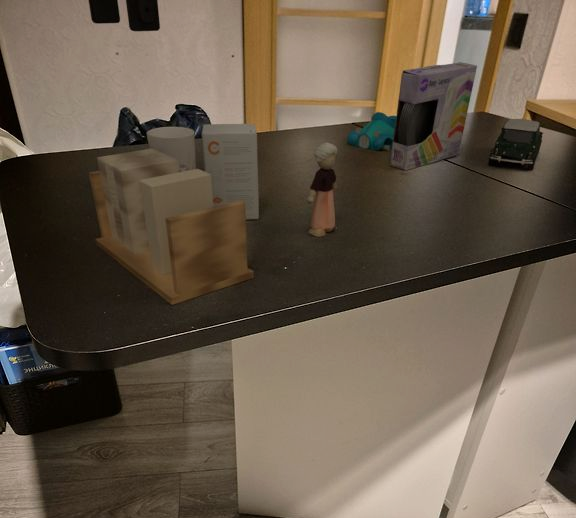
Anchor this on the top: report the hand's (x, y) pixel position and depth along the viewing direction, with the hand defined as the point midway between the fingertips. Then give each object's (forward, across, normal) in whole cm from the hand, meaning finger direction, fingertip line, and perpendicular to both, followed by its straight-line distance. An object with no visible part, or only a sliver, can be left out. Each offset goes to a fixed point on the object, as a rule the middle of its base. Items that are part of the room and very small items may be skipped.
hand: (124, 26), depth 59 cm
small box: (+27, -7, +18) cm, 33 cm away
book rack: (+26, +3, +1) cm, 27 cm away
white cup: (+27, -22, +16) cm, 38 cm away
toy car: (+26, -27, +74) cm, 83 cm away
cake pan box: (+26, -10, +68) cm, 73 cm away
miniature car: (+26, +1, +85) cm, 89 cm away
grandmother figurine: (+26, +7, +25) cm, 37 cm away
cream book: (+26, +7, +1) cm, 26 cm away
